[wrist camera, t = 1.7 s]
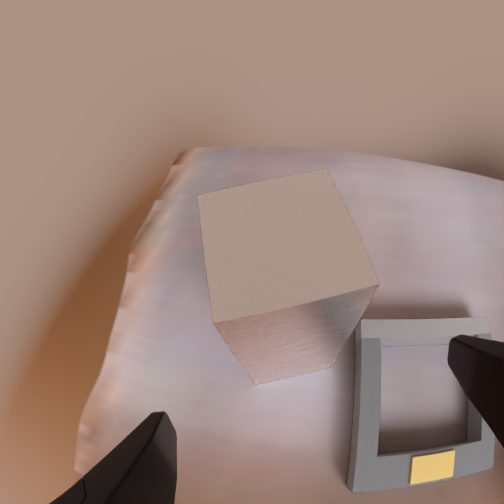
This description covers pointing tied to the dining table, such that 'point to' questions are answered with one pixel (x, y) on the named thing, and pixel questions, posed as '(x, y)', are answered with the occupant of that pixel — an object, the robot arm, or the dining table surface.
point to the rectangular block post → (284, 273)
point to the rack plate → (368, 411)
